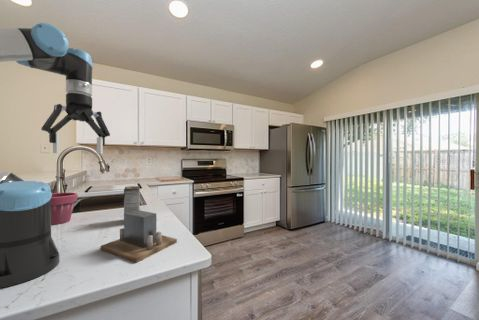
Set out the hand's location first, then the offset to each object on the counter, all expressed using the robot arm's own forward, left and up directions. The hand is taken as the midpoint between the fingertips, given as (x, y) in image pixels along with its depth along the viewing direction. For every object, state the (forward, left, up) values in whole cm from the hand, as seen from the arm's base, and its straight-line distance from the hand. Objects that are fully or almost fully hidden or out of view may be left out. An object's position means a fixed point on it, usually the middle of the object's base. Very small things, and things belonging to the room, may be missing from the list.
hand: (79, 153), depth 74 cm
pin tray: (+7, -24, -32) cm, 40 cm away
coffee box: (+23, +3, -32) cm, 39 cm away
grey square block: (+7, -24, -30) cm, 39 cm away
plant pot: (+6, +32, -32) cm, 46 cm away
